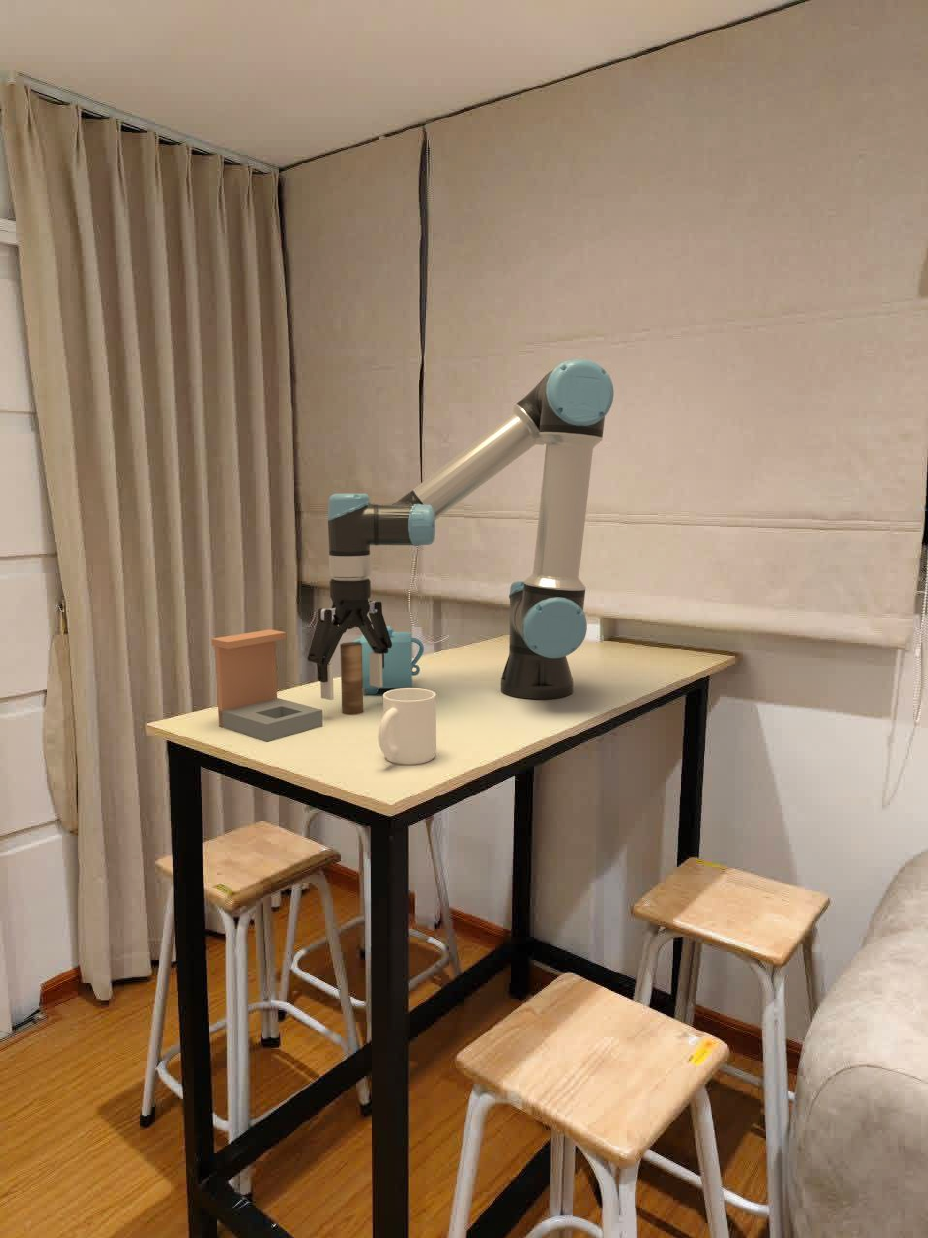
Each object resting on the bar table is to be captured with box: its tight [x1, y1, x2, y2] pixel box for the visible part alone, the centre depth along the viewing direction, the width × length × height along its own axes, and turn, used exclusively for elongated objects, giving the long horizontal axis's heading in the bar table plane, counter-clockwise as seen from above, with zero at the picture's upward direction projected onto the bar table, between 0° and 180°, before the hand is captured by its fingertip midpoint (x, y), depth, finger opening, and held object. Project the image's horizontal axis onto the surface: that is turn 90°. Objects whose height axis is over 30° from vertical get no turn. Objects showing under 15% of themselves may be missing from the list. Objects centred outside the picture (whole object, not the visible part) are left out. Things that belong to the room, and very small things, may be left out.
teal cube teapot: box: [352, 625, 425, 695], centre depth 181 cm, size 18×16×13 cm
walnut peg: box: [340, 641, 364, 715], centre depth 161 cm, size 4×4×13 cm
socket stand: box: [211, 628, 323, 742], centre depth 151 cm, size 15×13×16 cm
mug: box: [377, 687, 437, 766], centre depth 133 cm, size 12×8×10 cm
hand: (352, 692), depth 161 cm, fingers open, 12 cm apart
